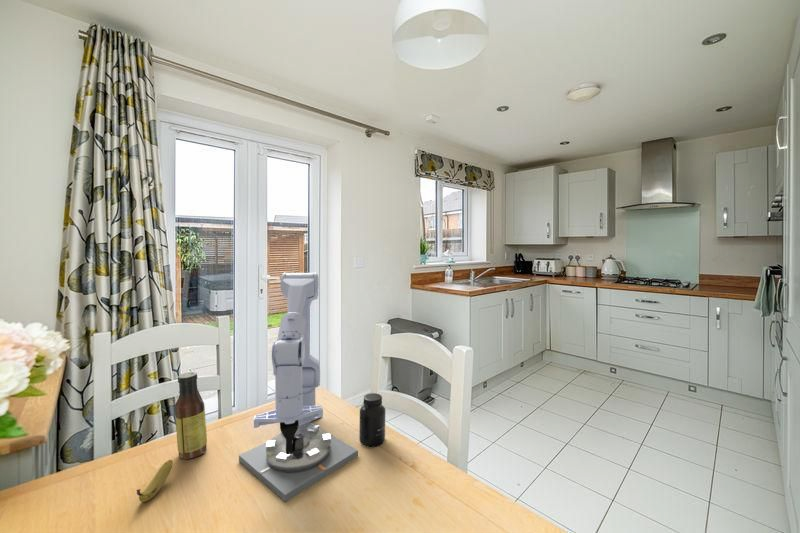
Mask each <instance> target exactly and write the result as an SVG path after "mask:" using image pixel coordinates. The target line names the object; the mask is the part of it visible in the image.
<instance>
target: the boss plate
mask: <svg viewBox="0 0 800 533" xmlns="http://www.w3.org/2000/svg"><path fill="white" fill-rule="evenodd" d="M310 424H313V423H312V422H309V423H307V424H305V425H303V426H300V427H299V426H298V428H303V427H308V426H309V425H310ZM319 429H321V430H323V431H325V430H324V429H322V428H320V427H319ZM325 432H326V433H328V434H330V437H331V451H330V454H329V456H328V457H327V458H326V459H325V460H324V461H323V462H322V463H320V464H319V465H317V466H315V467H313V468H311V469H308V470H304V471H299V472H282V471H278V470H275V469H273V468H271V467H270V466H269V465H268V463H267V461H266V445H267V441H265V442H264V443H262V444H259V445H258V446H255V447H253V448H252V449H249V450H247V451H245V452H243V453H241V454H238V462H239V463H241V464H242V466H244V467H245V468H246V469H247V470H248V471H249V472H250V473H252V474H253V476H255V477H256V478H257V479H259V480H260V481H261V482H262V483H263V484H264V485H265V486H267V487H268V488H269V489H270V491H272V492H273V493H274V494H275V495H277V496H278V498H280V499H281V500H283V502H285V503H286V502H287V501H289V500H291V499H292V498H294V497H296V496H297V495H299V494H301V493H302V492H304V491H305V490H307V489H308V488H310V487H311V486H313V485H314V484H316V483H318V482H319V481H322V479H324V478H326V477H327V476H329V475H331V474H333V472H335V471H336V470H338V469H340V468H341V467H343V466H344V465H346V464H348V463H349V462H351V461H353V460H354V459H356V458H358V457H359V449H357V448H356V447H353V446H352V445H350V444H349V443H346V442H345V441H343V440H341V439H339V438H338V437H336V436H334V435H333V434H331V433H329V432H327V431H325ZM271 440H272V439H271ZM271 440H269V441H271Z"/></svg>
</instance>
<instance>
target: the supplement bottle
mask: <svg viewBox="0 0 800 533" xmlns="http://www.w3.org/2000/svg"><path fill="white" fill-rule="evenodd" d="M382 400H383V396H382V395H381V394H379V393H377V392H376V393H374V392H371V393H366V394H365V395H364V396H363V402H362V403H363V405H362V406H361V407H360V409H359V426H358V427H359V432H358V433H359V442H360V444H361V446H364V447H367V448H378V447H380V446H381V445H383V444H384V443H385V440H386V407H385V406H384V405H383V401H382Z"/></svg>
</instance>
